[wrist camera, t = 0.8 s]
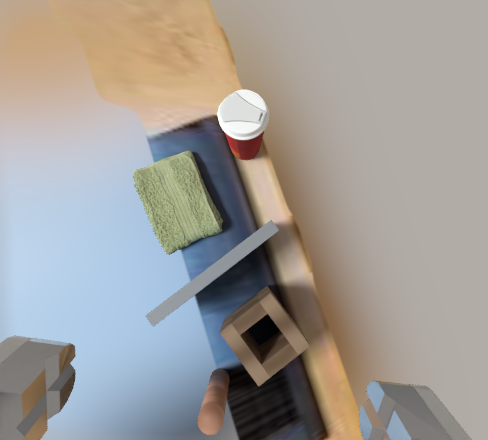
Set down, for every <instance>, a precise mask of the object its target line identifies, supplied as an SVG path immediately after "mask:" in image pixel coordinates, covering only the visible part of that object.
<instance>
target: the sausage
mask: <svg viewBox="0 0 488 440" xmlns="http://www.w3.org/2000/svg"><path fill="white" fill-rule="evenodd" d="M229 381H230V377H229V374H228V372H227V371H226V370H224V369H216V370H215V371H213V373H212V375H211V377H210V380H209V384H208V387H207V390H206V394H205V397H204V400H203V403H202V407H201V410H200V413H199V417H198V426H199V428H200V430H201V431H202V432H203V433H205V434H207V435H214V434H216V433H218V432H219V431H220V430H221V428H222V425H223V419H224V413H225V406H226V400H227V394H228V387H229Z"/></svg>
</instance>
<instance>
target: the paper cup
mask: <svg viewBox="0 0 488 440" xmlns="http://www.w3.org/2000/svg"><path fill="white" fill-rule="evenodd" d="M217 115H218V119H219V123H220V126H221V128H222V129H223V131H224V132H225V134H226V137H227V140H228V142H229V145H230V148H231V150H232V152H233V154H234V155H235V156H236V157H237V158H239V159H241V160H249V159H252V158H253V157H255V156H256V154H257V153H258V151H259V148H260V145H261V141H262V137H263V133H264V130H265V128H266V126H267V124H268V121H269V110H268V107H267V104H266V103H265V101H264V100H263V99H262V98H261V97H260V96H259V95H258V94H257V93H255V92H253V91H250V90H238V91H235V92H233V93H232V94H230V95H229V96H228V97H226V98H225V99H224V100H223V101H222V103H221V104H220V106H219V109H218V114H217Z"/></svg>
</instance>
